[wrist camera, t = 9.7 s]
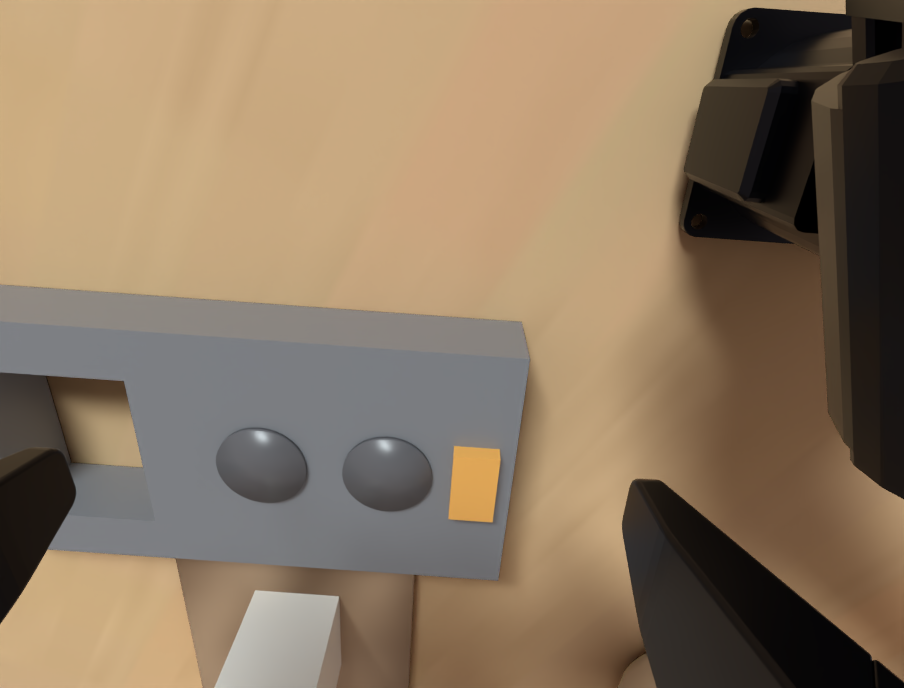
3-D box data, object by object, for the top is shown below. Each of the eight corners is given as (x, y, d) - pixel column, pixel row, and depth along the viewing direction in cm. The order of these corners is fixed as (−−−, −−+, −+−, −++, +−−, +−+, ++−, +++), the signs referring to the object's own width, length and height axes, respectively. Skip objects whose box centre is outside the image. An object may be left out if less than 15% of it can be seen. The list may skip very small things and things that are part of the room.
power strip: (521, 321, 20) (531, 367, 17) (494, 525, 25) (498, 593, 21) (-73, 279, 20) (-178, 317, 17) (5, 491, 24) (-66, 554, 21)
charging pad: (415, 545, 25) (414, 554, 25) (408, 692, 30) (407, 704, 29) (177, 528, 25) (171, 538, 25) (208, 679, 30) (203, 690, 29)
